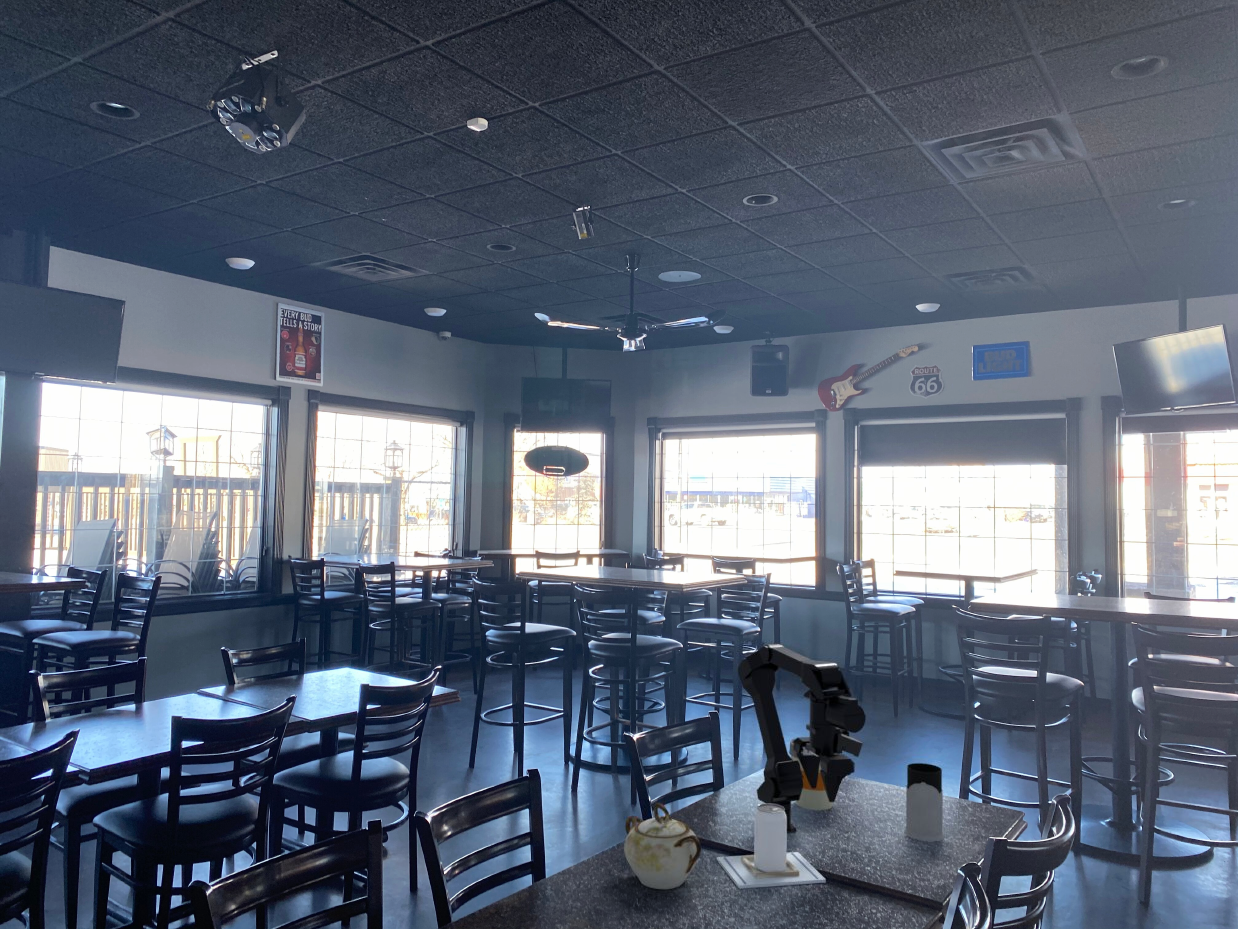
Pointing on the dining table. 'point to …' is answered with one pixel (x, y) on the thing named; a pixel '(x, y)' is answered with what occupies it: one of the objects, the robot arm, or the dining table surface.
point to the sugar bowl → (661, 850)
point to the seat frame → (747, 863)
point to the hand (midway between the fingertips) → (822, 795)
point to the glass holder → (924, 802)
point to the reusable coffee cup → (809, 796)
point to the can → (770, 838)
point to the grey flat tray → (748, 880)
